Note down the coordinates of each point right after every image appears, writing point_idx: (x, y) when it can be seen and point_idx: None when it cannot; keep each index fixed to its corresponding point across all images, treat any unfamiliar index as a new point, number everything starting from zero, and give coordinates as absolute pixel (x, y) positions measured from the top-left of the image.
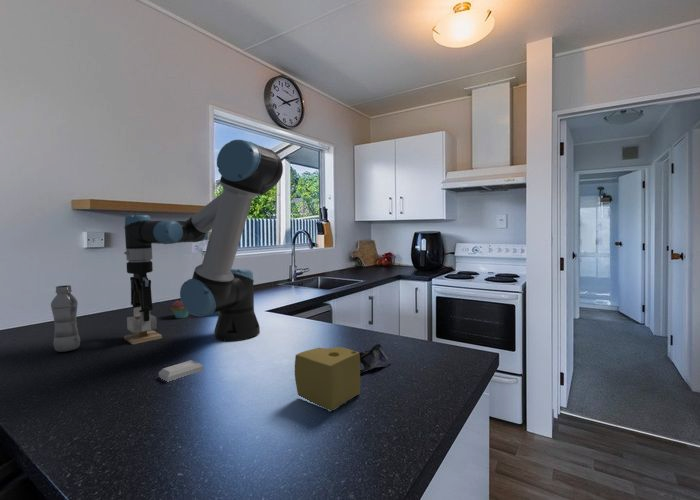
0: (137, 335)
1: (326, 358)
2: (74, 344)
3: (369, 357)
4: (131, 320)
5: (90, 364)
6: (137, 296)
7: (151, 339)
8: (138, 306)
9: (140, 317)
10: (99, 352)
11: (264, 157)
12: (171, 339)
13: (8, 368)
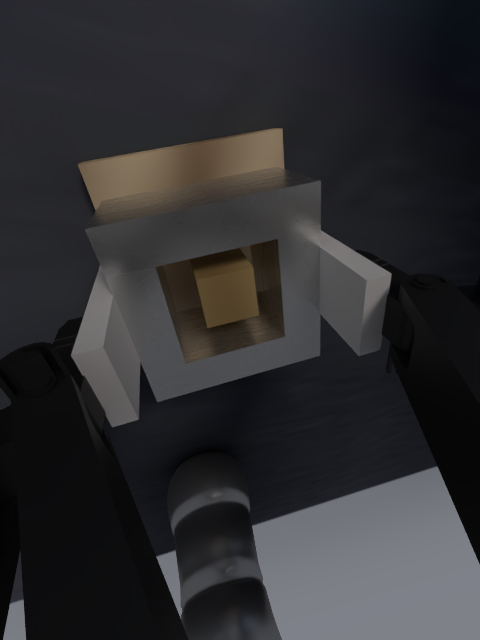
0: (180, 273)
1: None
2: (240, 470)
3: None
4: (277, 365)
5: (402, 387)
6: (152, 559)
7: None
8: (87, 395)
9: (169, 309)
10: (301, 386)
11: None
12: (350, 72)
13: (277, 515)
